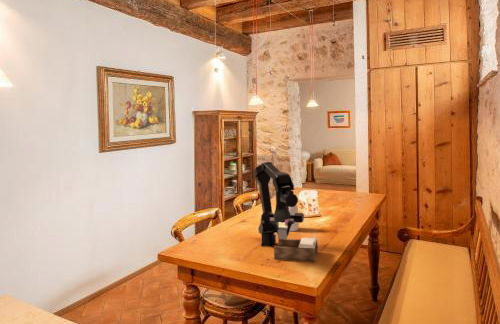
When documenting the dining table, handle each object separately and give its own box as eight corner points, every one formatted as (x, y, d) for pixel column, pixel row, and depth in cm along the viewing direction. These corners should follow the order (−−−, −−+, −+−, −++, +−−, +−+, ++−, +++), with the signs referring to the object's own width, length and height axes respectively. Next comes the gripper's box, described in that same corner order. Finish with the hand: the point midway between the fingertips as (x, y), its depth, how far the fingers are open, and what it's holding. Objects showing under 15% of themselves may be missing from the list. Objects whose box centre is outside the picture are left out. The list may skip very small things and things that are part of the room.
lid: (298, 247, 165) (298, 243, 165) (301, 239, 176) (301, 235, 176) (314, 248, 163) (314, 244, 163) (316, 239, 175) (316, 235, 174)
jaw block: (277, 238, 168) (277, 230, 168) (279, 235, 172) (279, 227, 171) (286, 239, 167) (286, 230, 166) (288, 236, 171) (288, 227, 170)
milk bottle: (297, 227, 215) (296, 193, 213) (299, 231, 208) (298, 196, 205) (284, 227, 215) (283, 194, 213) (286, 232, 208) (284, 196, 205)
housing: (274, 259, 169) (273, 247, 168) (279, 249, 180) (278, 238, 180) (315, 261, 164) (315, 249, 163) (317, 252, 175) (317, 240, 175)
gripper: (257, 205, 162) (258, 239, 164) (300, 207, 157) (300, 242, 159) (263, 199, 173) (264, 231, 175) (304, 200, 168) (304, 234, 170)
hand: (283, 235), depth 169 cm, fingers closed on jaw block, 4 cm apart
